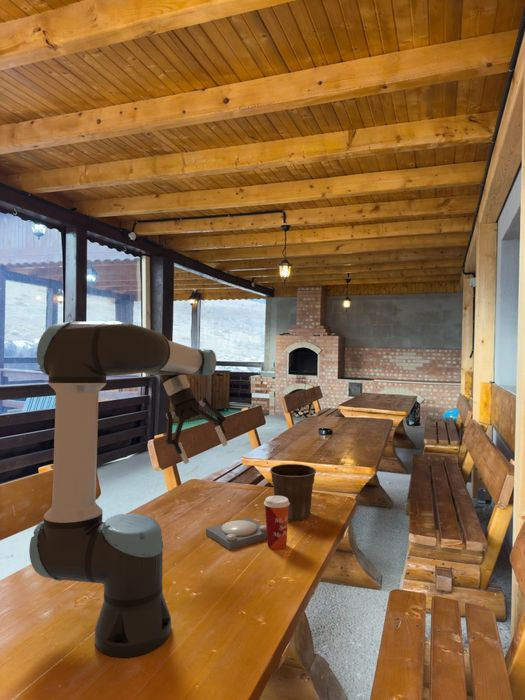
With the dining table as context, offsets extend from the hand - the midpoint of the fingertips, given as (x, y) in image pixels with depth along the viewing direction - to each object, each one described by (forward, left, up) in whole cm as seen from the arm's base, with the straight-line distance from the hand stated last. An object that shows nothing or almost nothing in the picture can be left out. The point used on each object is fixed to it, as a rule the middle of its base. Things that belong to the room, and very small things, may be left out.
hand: (206, 454), depth 145 cm
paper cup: (+14, -17, -26) cm, 34 cm away
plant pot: (+34, 0, -26) cm, 43 cm away
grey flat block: (+9, -4, -26) cm, 28 cm away
